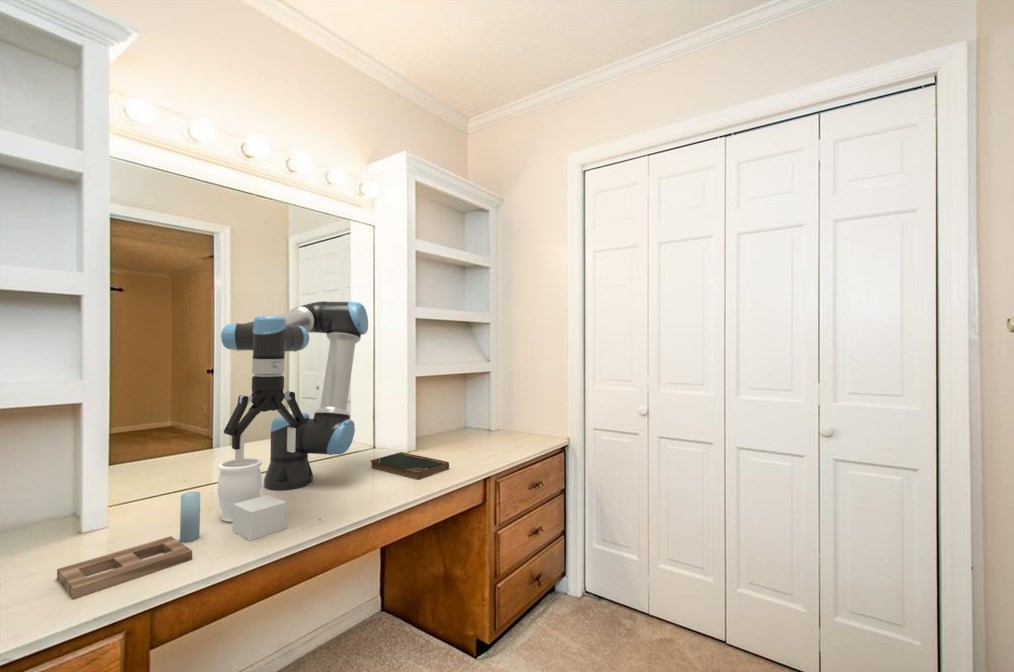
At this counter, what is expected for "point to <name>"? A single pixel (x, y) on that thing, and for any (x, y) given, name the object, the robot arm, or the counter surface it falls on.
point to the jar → (238, 484)
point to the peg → (190, 517)
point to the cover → (259, 517)
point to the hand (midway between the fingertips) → (266, 456)
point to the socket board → (122, 566)
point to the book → (409, 465)
